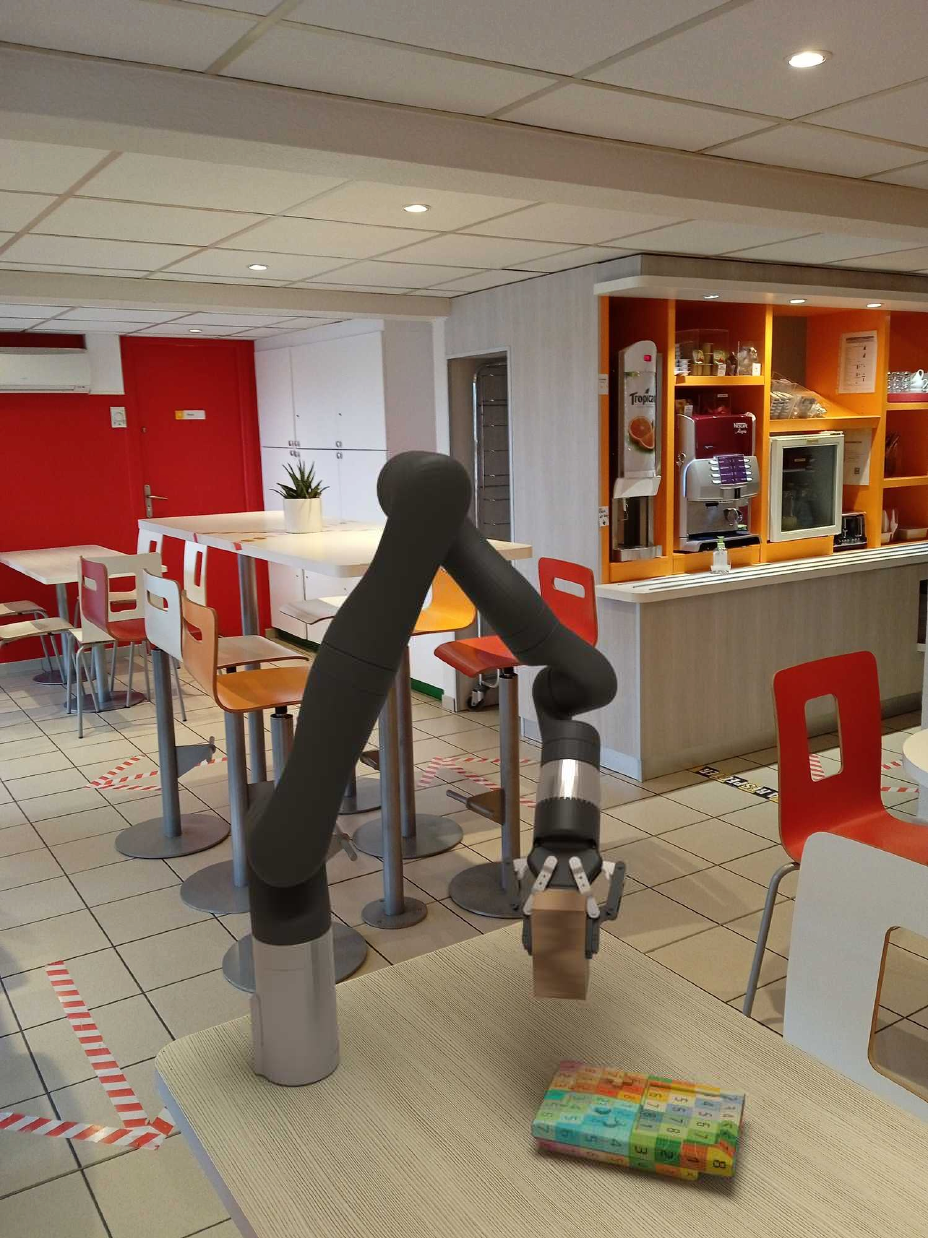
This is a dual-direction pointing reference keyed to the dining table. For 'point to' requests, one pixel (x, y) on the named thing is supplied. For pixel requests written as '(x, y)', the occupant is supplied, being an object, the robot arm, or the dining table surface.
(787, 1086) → the dining table surface
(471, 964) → the dining table surface
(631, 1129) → the puzzle game
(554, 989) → the walnut block
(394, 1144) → the dining table surface
